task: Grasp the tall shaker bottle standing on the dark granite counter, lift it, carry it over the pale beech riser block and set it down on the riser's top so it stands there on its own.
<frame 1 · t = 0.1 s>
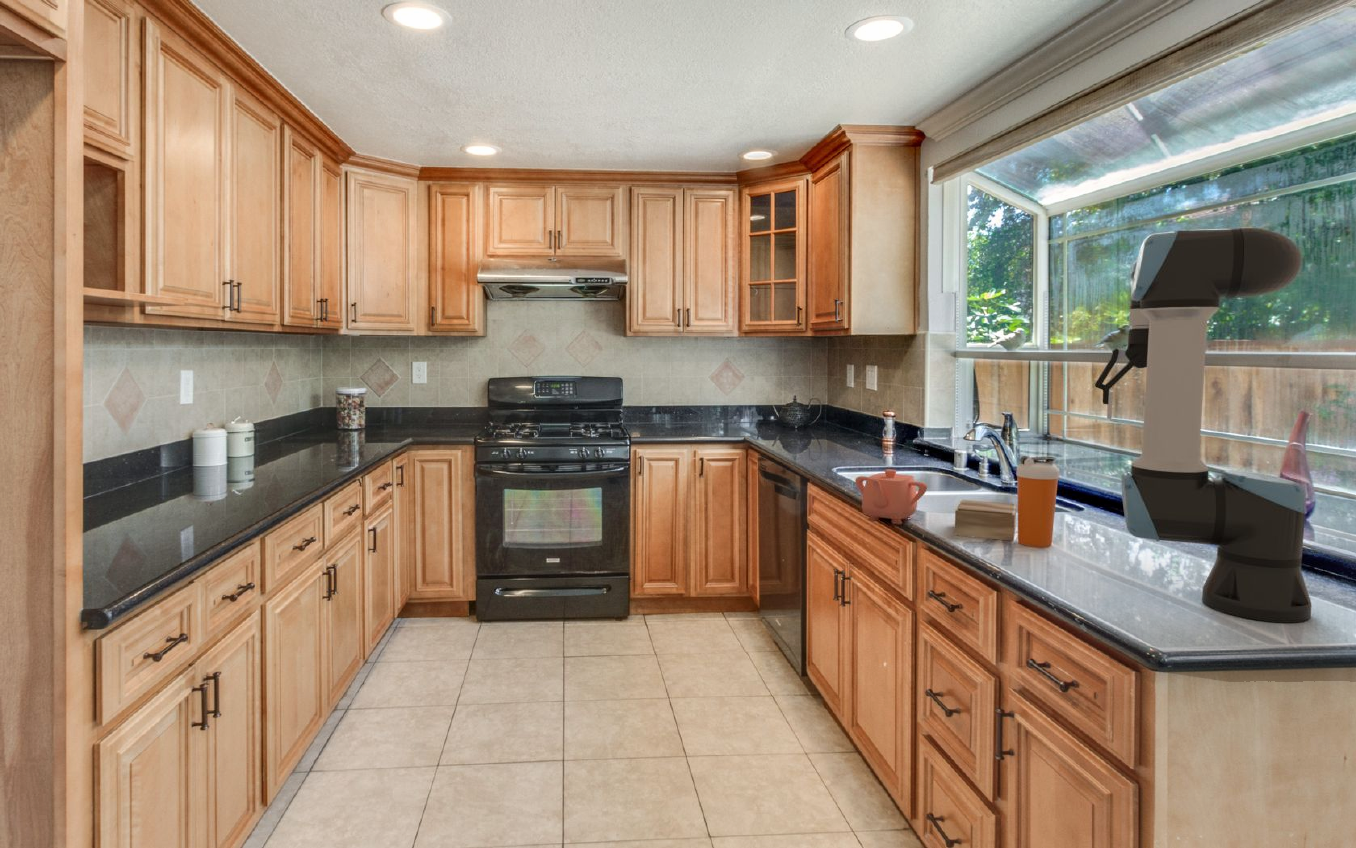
hand: (1142, 419, 182), 28 cm above the countertop, fingers open, 13 cm apart
teapot: (888, 520, 204), on the countertop
riser: (985, 532, 190), on the countertop
shaker bottle: (1034, 544, 179), on the countertop
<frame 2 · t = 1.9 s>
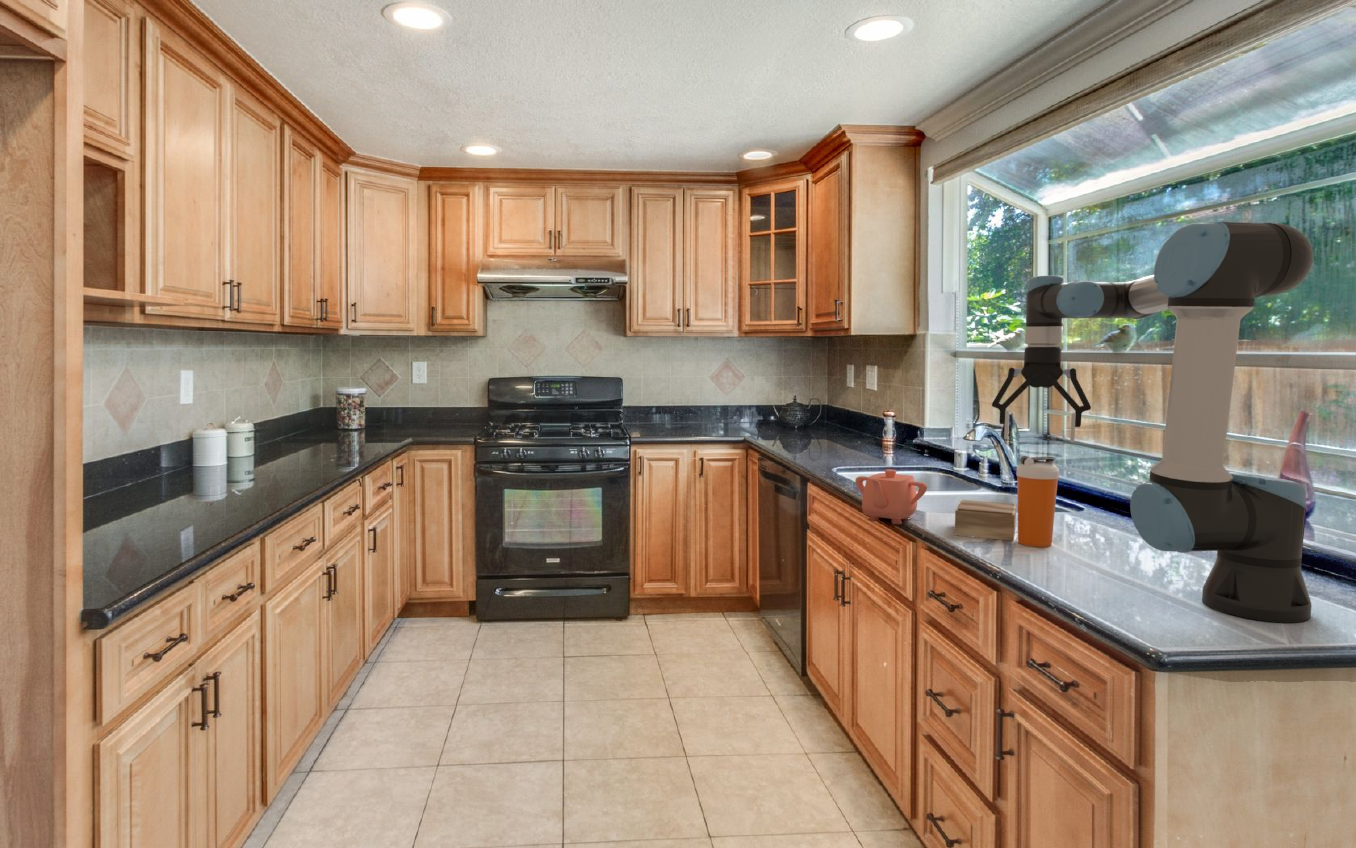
hand: (1038, 440, 177), 24 cm above the countertop, fingers open, 13 cm apart
nothing on the countertop moved.
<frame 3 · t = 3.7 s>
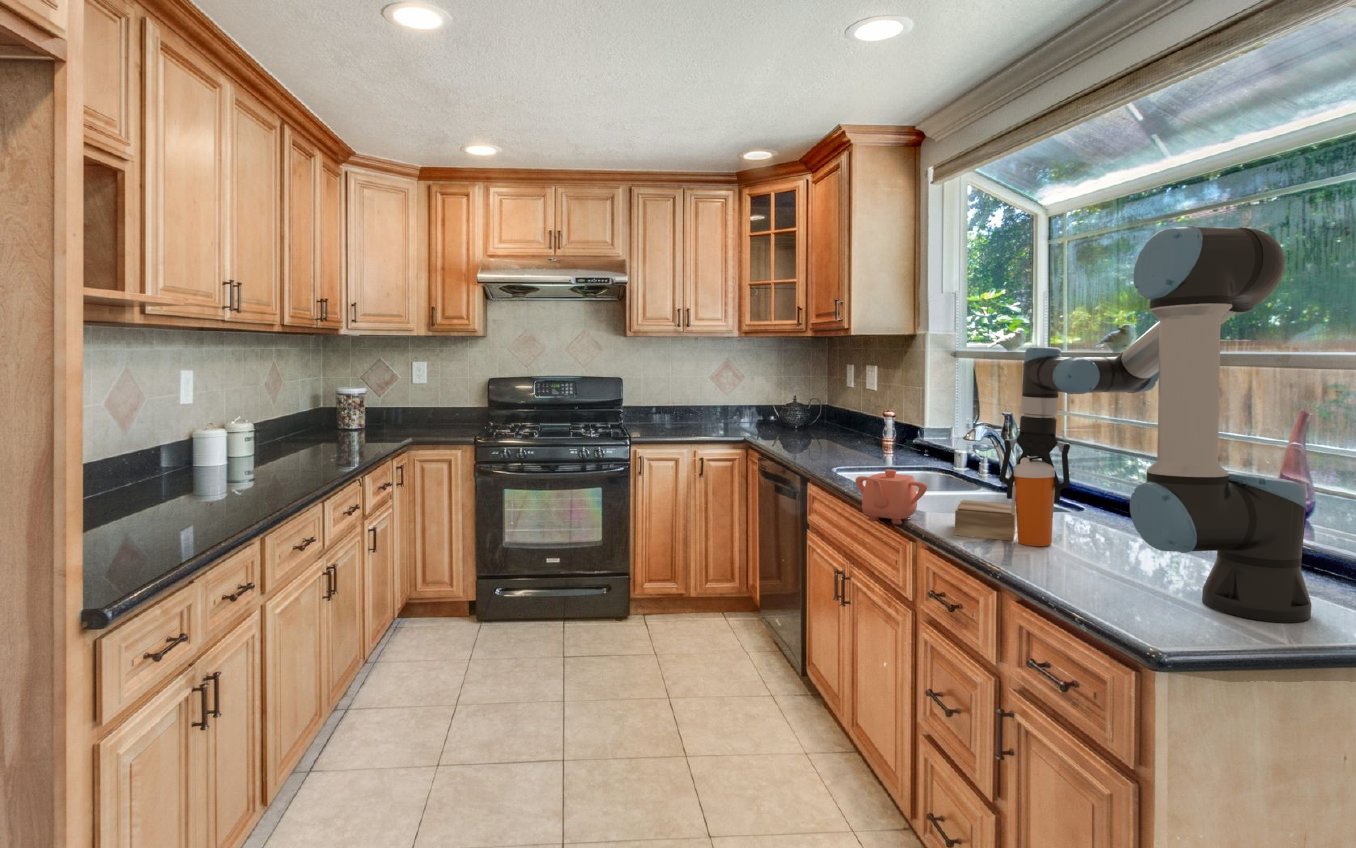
hand: (1031, 514, 179), 7 cm above the countertop, fingers closed on shaker bottle, 7 cm apart
shaker bottle: (1034, 543, 179), on the countertop, touching gripper
everything else where it was.
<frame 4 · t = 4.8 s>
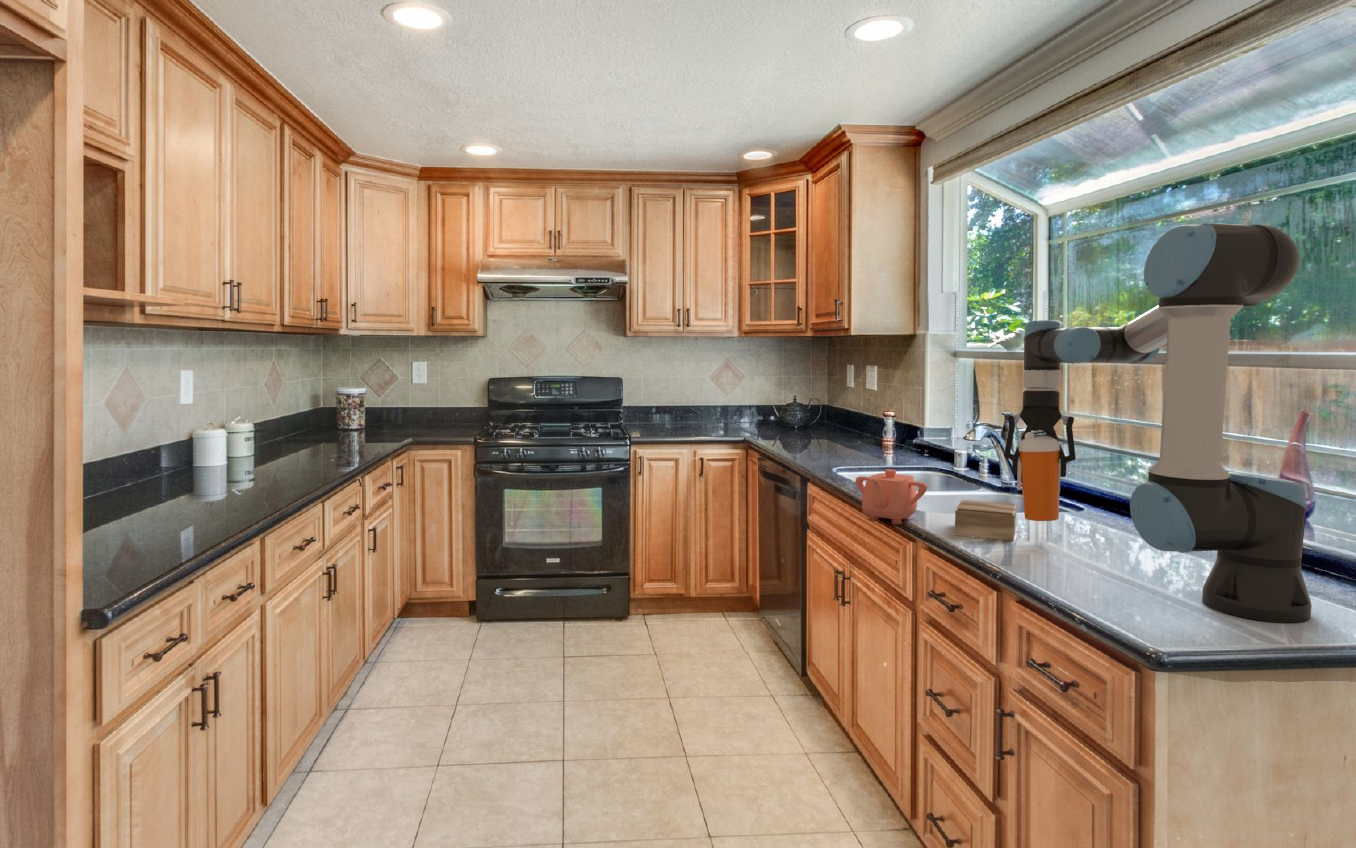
hand: (1038, 490, 178), 12 cm above the countertop, fingers closed on shaker bottle, 7 cm apart
shaker bottle: (1041, 519, 178), point 6 cm above the countertop, touching gripper
everything else where it was.
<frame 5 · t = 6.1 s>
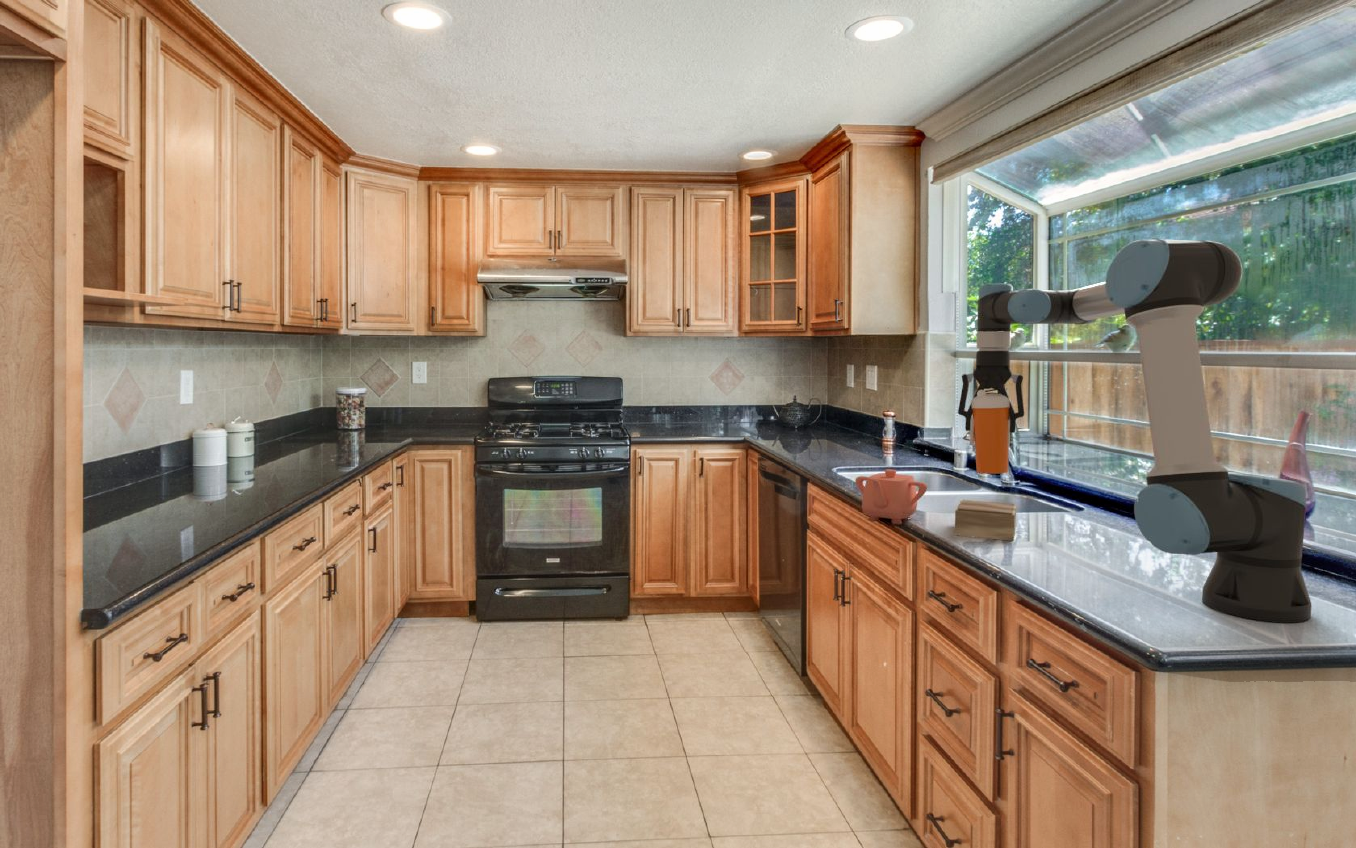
hand: (989, 445, 188), 21 cm above the countertop, fingers closed on shaker bottle, 7 cm apart
shaker bottle: (992, 472, 188), point 15 cm above the countertop, touching gripper
everything else where it was.
when the fingers open (14 cm above the countertop, at t = 7.8 s): shaker bottle moves 1 cm, resting on riser.
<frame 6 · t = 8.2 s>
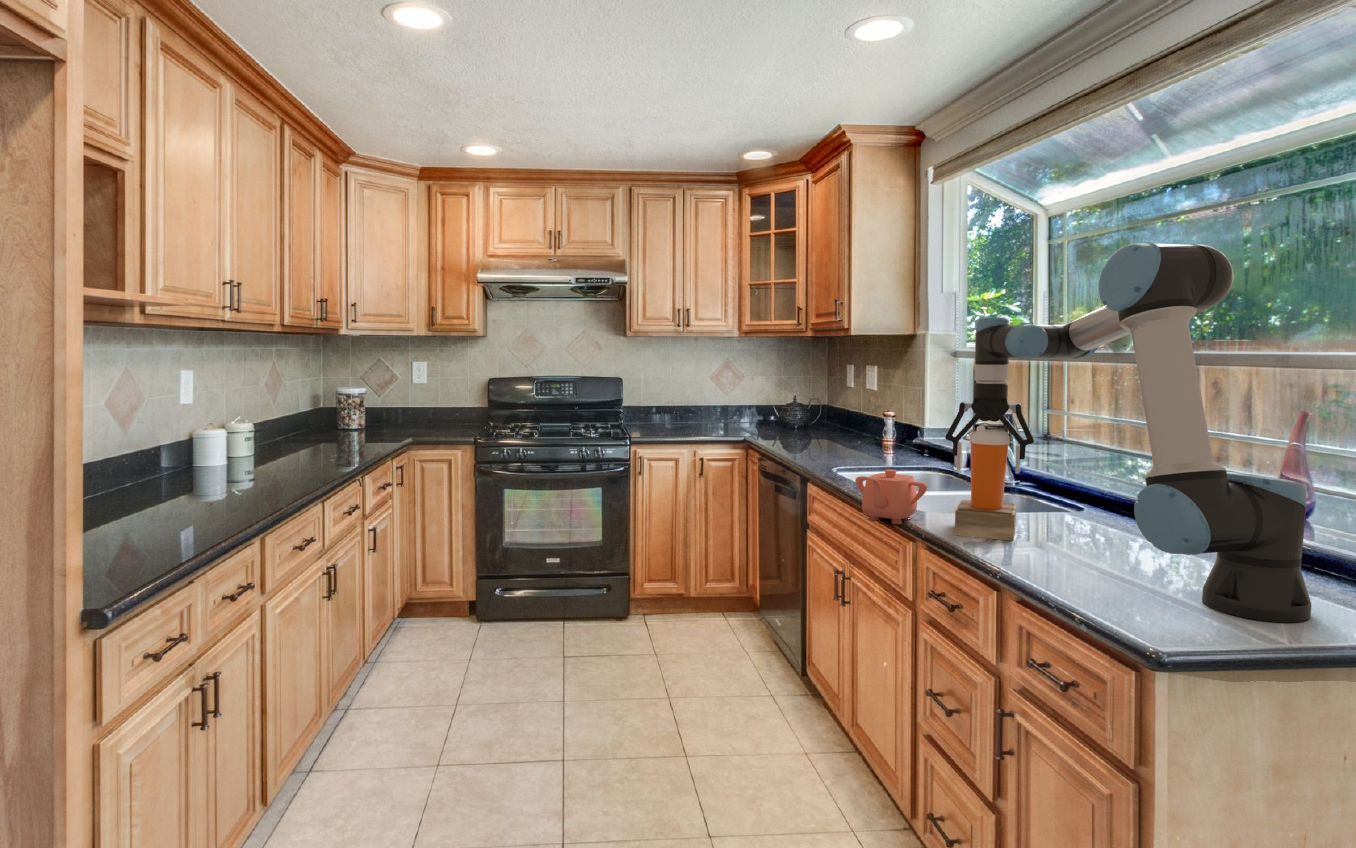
hand: (987, 471, 189), 15 cm above the countertop, fingers open, 12 cm apart
shaker bottle: (986, 507, 189), point 6 cm above the countertop, touching riser
everything else where it was.
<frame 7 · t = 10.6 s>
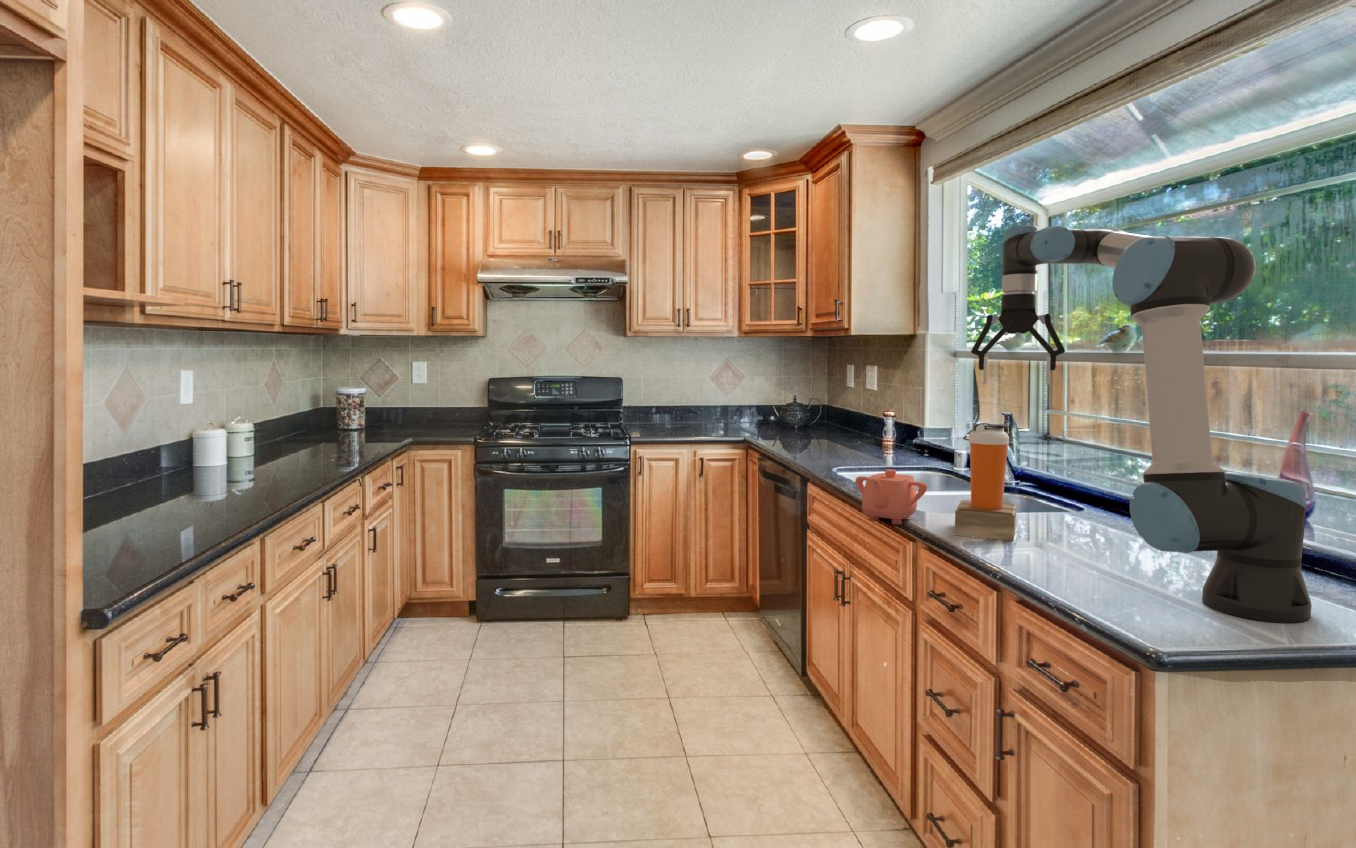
hand: (1015, 384, 185), 36 cm above the countertop, fingers open, 13 cm apart
nothing on the countertop moved.
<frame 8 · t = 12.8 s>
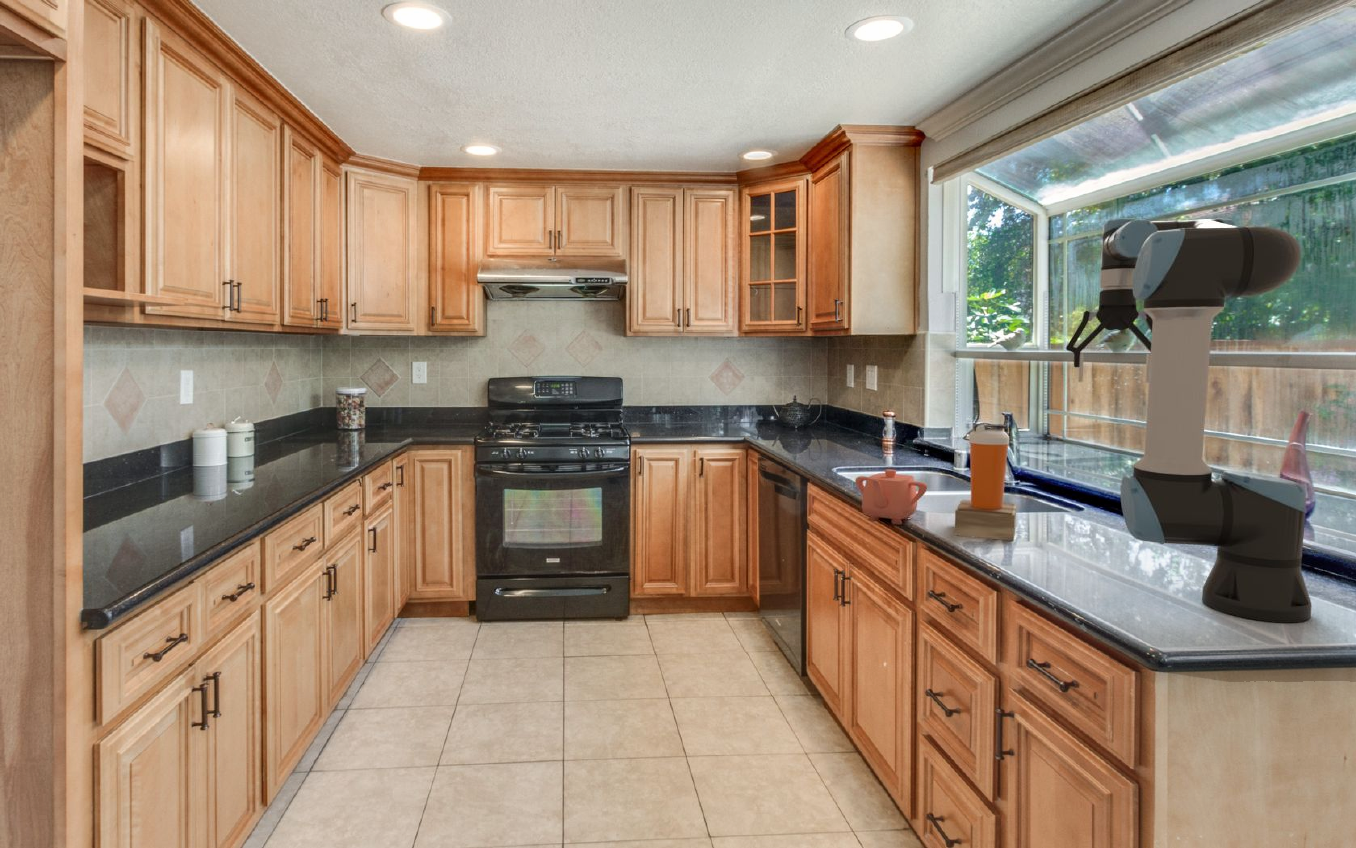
hand: (1113, 382, 180), 37 cm above the countertop, fingers open, 13 cm apart
nothing on the countertop moved.
at the end: shaker bottle inside the target area on the riser (0.5 cm from its centre), point 6.2 cm above the riser's base; shaker bottle tilted 0°; the gripper is holding nothing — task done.
